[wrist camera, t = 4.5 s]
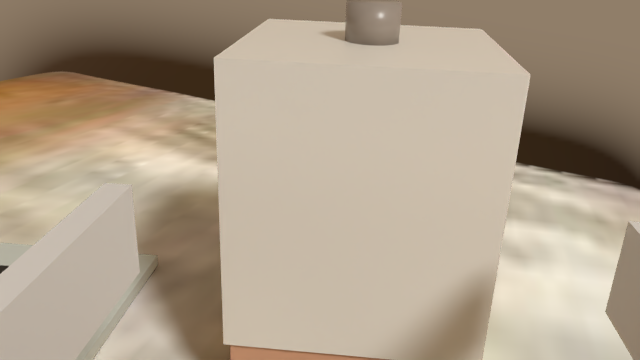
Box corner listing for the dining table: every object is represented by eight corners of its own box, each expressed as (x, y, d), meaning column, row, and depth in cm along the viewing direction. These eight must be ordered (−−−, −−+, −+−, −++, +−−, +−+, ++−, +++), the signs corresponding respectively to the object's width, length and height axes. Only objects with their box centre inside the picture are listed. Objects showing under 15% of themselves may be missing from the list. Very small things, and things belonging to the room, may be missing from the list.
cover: (224, 366, 22) (211, 10, 18) (268, 246, 31) (268, -14, 26) (477, 389, 22) (539, 25, 17) (450, 260, 30) (486, -5, 25)
